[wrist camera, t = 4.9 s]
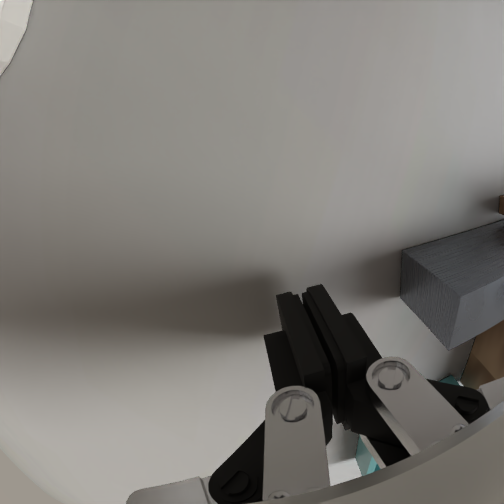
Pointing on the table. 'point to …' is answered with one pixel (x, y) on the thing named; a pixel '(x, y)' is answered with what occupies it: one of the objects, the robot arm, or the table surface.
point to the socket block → (486, 351)
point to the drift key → (457, 283)
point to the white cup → (12, 28)
